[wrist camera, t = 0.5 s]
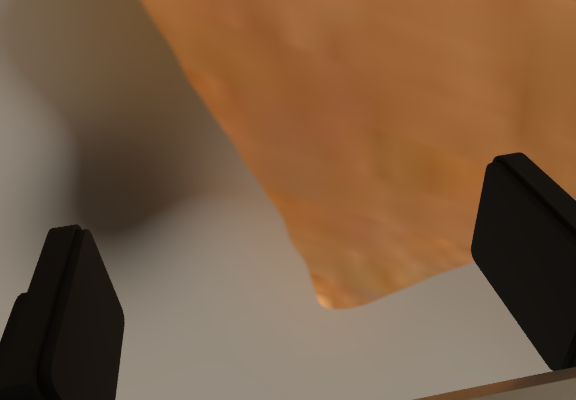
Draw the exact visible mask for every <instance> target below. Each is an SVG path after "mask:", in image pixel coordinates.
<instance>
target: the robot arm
mask: <svg viewBox="0 0 576 400" xmlns="http://www.w3.org/2000/svg"><path fill="white" fill-rule="evenodd" d="M471 253H472V257H473V259H474V261H475V262H476V264H477V265H478V267H479V268H480V270H481V271H482V273H483V274H484V275H485V277H486V278H487V280H488V281H489V283H490V284H491V285H492V287H493V288H494V290H495V291H496V293H497V294H498V295H499V297H500V298H501V299H502V301H503V302H504V304H505V305H506V307H507V308H508V310H509V311H510V313H511V314H512V315H513V317H514V318H515V320H516V321H517V323H518V324H519V325H520V327H521V328H522V330H523V331H524V333H525V334H526V335H527V337H528V338H529V340H530V341H531V342H532V344H533V345H534V347H535V348H536V350H537V351H538V353H539V354H540V355H541V357H542V358H543V360H544V361H545V363H546V364H547V365H548V367H549V368H550V369H551V370H553V371H552V372H547V373H543V374H538V375H533V376H528V377H523V378H518V379H513V380H508V381H503V382H498V383H493V384H488V385H483V386H478V387H474V388H469V389H463V390H459V391H453V392H448V393H444V394H439V395H434V396H429V397H424V398H419V399H415V400H576V201H575V200H574V199H573V198H572V197H571V196H570V195H569V194H568V193H567V192H565V191H564V190H563V189H562V188H561V187H560V186H559V185H558V184H557V183H555V182H554V181H553V180H552V179H551V178H550V177H549V176H548V175H547V174H546V173H544V172H543V171H542V170H541V169H540V168H539V167H538V166H537V165H536V164H535V163H533V162H532V161H531V160H530V159H529V158H528V157H527V156H526V155H524V154H523V153H513V154H506V155H500V156H497V157H495V158H494V159H493V162H492V163H490V164H488V165H487V168H486V172H485V177H484V182H483V187H482V193H481V198H480V203H479V208H478V213H477V219H476V224H475V229H474V234H473V240H472V245H471ZM123 332H124V314H123V310H122V307H121V305H120V302H119V300H118V297H117V295H116V292H115V290H114V288H113V285H112V283H111V280H110V278H109V275H108V273H107V271H106V268H105V266H104V263H103V261H102V258H101V256H100V253H99V251H98V248H97V246H96V243H95V241H94V239H93V236H92V234H91V232H90V231H89V230H88V229H85V230H82V229H81V227H80V226H79V225H77V224H76V225H70V226H64V227H58V228H52V229H50V230H49V232H48V234H47V237H46V240H45V243H44V246H43V248H42V251H41V254H40V257H39V261H38V263H37V266H36V268H35V271H34V274H33V277H32V280H31V283H30V286H29V289H28V292H26V293H21V294H20V295H19V296H18V297H17V299H16V301H15V303H14V306H13V308H12V311H11V314H10V317H9V319H8V322H7V325H6V327H5V330H4V333H3V336H2V338H1V341H0V400H115V398H116V389H117V381H118V373H119V365H120V357H121V347H122V340H123Z"/></svg>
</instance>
